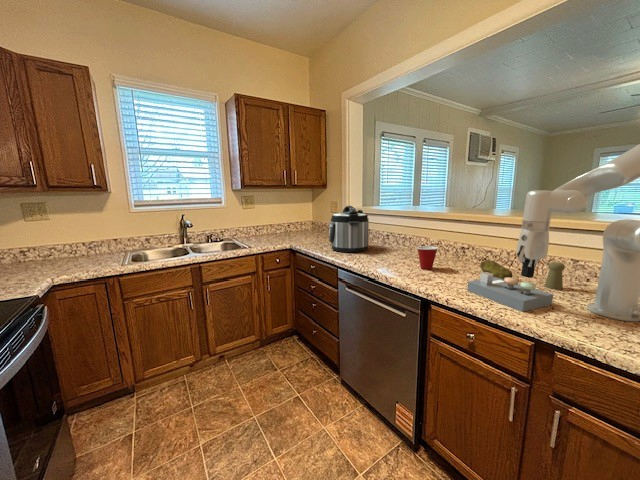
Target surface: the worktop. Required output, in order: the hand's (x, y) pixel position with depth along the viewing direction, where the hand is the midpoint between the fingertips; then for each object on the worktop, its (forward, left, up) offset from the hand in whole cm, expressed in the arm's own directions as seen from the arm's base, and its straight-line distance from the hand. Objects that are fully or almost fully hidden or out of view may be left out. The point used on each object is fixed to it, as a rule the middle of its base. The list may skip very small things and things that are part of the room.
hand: (527, 276), depth 97 cm
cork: (+7, -29, -11) cm, 32 cm away
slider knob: (+13, +4, -6) cm, 14 cm away
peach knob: (+6, 0, -7) cm, 9 cm away
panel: (+7, 0, -11) cm, 12 cm away
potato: (+26, -20, -11) cm, 34 cm away
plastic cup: (+51, 0, -11) cm, 52 cm away
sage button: (0, 0, -7) cm, 7 cm away
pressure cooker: (+112, +16, -11) cm, 113 cm away
